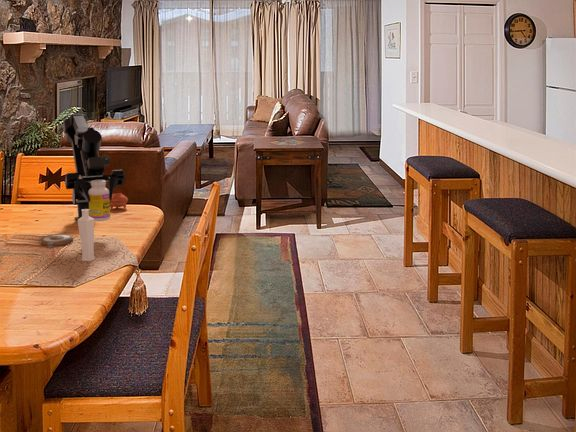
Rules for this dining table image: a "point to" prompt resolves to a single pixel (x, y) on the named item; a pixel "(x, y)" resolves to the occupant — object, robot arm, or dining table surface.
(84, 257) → the perfume bottle
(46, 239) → the post base
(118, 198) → the pot
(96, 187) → the supplement bottle
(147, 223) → the dining table surface
